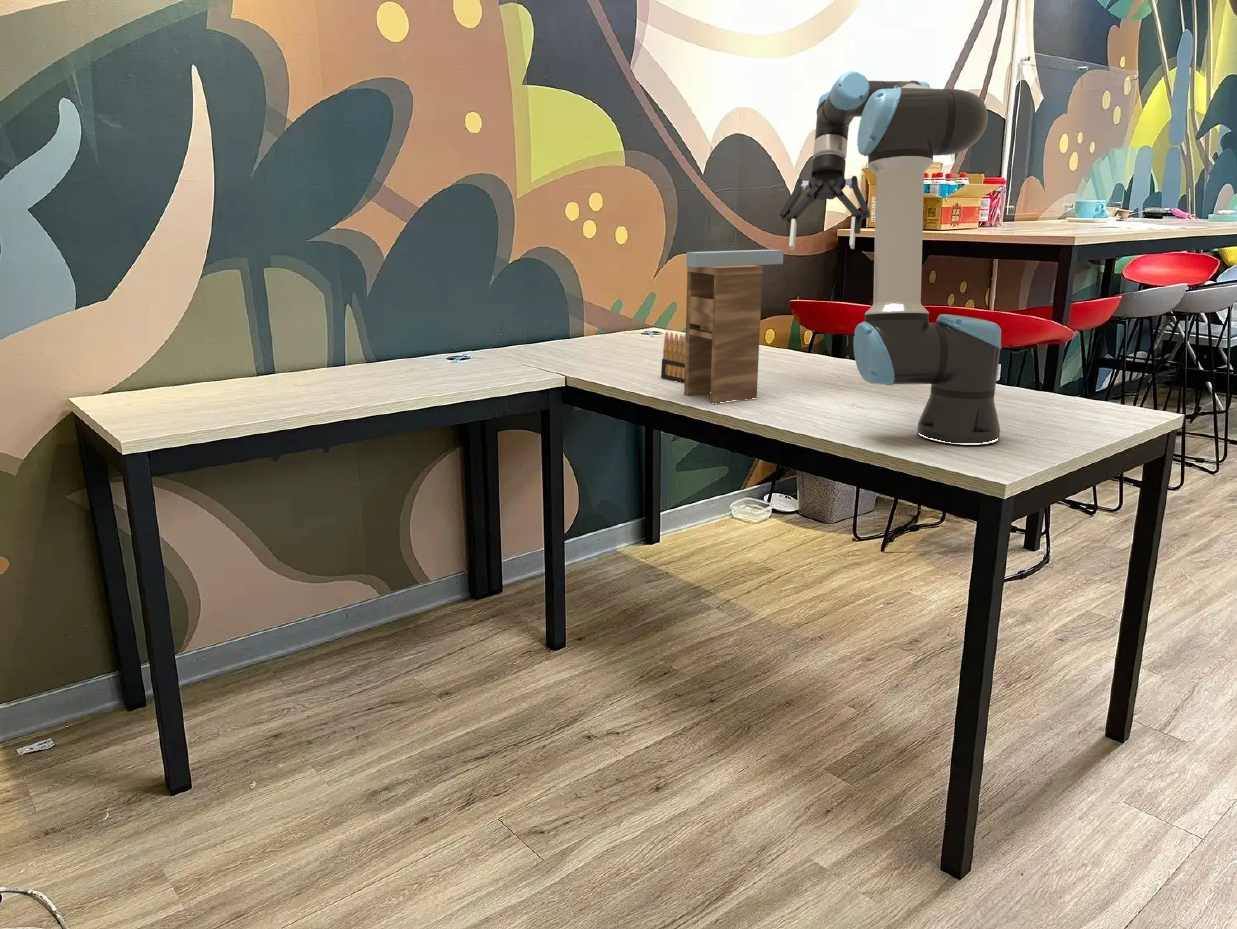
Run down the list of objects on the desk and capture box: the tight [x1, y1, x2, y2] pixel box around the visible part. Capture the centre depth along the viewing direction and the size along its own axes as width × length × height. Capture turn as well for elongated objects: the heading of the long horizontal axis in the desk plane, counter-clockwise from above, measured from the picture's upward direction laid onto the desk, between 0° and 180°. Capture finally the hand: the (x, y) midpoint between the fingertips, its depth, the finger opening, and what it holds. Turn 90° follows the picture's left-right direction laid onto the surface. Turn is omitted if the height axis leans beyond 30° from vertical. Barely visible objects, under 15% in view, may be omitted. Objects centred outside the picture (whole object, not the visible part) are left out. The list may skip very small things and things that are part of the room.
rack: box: [683, 265, 764, 405], centre depth 212 cm, size 12×12×32 cm
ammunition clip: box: [660, 331, 686, 384], centre depth 233 cm, size 11×2×12 cm, turn 39°
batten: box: [685, 249, 784, 267], centre depth 209 cm, size 4×24×3 cm, turn 120°
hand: (821, 247), depth 213 cm, fingers open, 13 cm apart
